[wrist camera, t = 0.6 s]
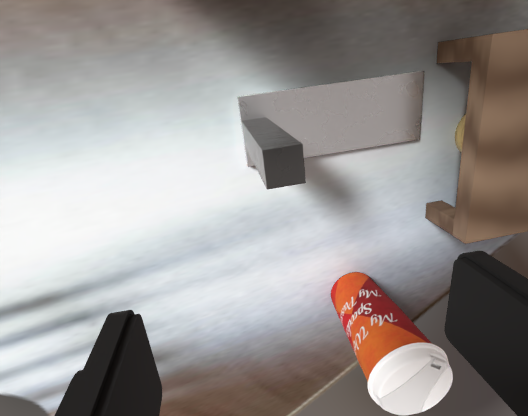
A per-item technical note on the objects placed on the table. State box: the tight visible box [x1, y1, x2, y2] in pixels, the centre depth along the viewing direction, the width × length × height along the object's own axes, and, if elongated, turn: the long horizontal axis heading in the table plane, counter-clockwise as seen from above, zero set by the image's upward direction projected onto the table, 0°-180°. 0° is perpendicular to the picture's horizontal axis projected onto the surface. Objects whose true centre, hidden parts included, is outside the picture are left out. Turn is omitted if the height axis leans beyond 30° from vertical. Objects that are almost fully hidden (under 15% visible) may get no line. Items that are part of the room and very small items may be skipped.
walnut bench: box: [425, 29, 528, 244], centre depth 35 cm, size 20×12×7 cm, turn 7°
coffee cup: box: [331, 272, 453, 415], centre depth 37 cm, size 8×8×15 cm
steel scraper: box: [237, 71, 424, 189], centre depth 28 cm, size 7×19×15 cm, turn 97°
